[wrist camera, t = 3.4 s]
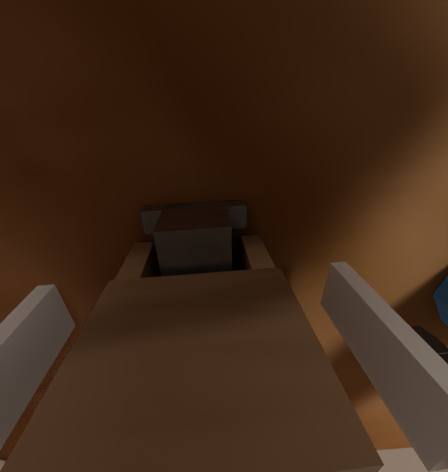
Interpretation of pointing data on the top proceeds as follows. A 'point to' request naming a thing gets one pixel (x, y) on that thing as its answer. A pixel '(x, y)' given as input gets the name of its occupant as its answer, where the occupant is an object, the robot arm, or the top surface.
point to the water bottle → (442, 300)
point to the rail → (194, 235)
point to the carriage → (195, 380)
